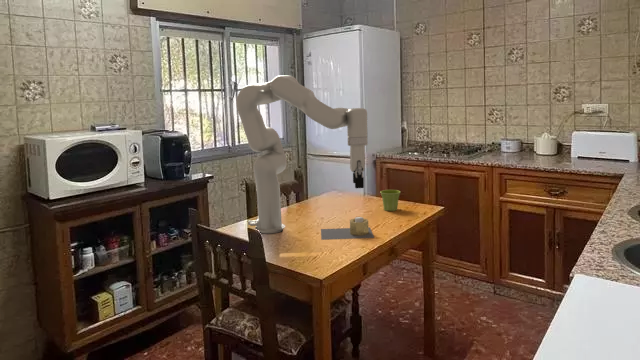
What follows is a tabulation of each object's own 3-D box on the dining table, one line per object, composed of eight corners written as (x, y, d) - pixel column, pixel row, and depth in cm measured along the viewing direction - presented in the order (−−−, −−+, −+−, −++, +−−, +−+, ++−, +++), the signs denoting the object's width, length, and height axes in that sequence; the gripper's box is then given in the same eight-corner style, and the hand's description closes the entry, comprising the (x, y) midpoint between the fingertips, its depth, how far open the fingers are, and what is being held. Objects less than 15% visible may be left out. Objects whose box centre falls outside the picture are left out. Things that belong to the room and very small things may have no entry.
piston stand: (321, 242, 192) (320, 224, 191) (320, 231, 206) (320, 214, 205) (374, 240, 192) (374, 222, 191) (370, 230, 206) (369, 213, 205)
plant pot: (376, 209, 240) (376, 191, 238) (393, 206, 244) (393, 188, 242) (387, 213, 231) (387, 194, 230) (404, 210, 235) (404, 192, 234)
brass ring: (350, 235, 195) (350, 223, 194) (349, 230, 202) (349, 218, 201) (369, 235, 195) (368, 222, 195) (367, 230, 202) (367, 217, 201)
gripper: (346, 138, 201) (347, 181, 204) (349, 144, 184) (350, 190, 187) (365, 138, 201) (365, 180, 204) (369, 143, 184) (370, 189, 187)
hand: (358, 185), depth 195 cm, fingers open, 9 cm apart
